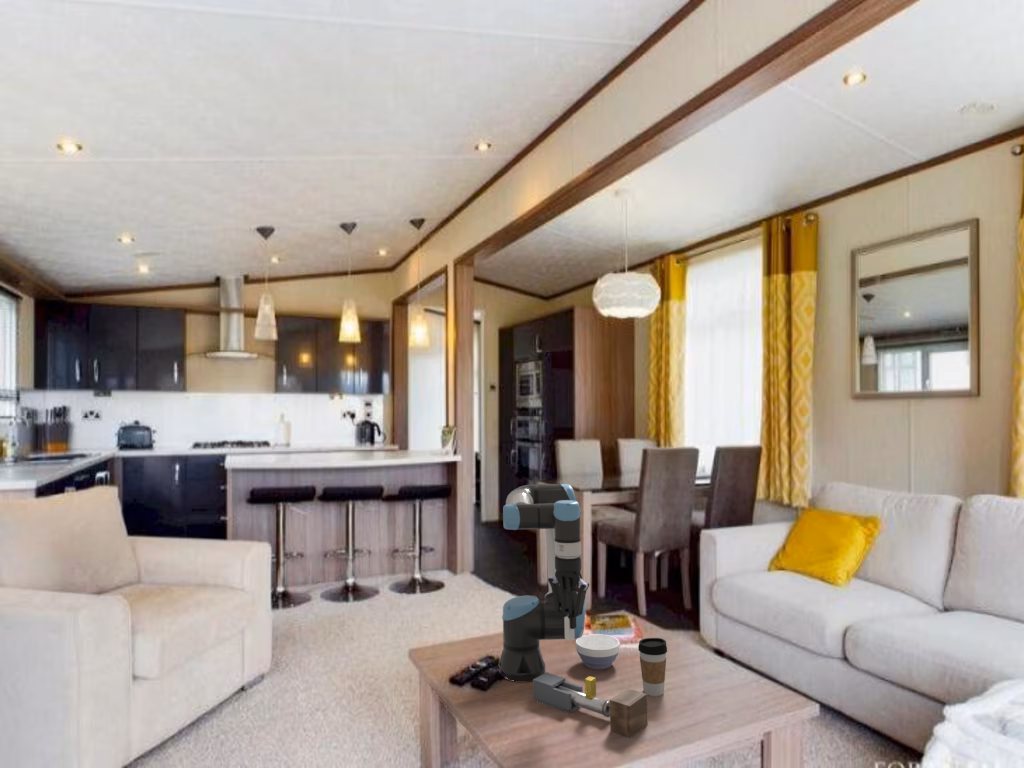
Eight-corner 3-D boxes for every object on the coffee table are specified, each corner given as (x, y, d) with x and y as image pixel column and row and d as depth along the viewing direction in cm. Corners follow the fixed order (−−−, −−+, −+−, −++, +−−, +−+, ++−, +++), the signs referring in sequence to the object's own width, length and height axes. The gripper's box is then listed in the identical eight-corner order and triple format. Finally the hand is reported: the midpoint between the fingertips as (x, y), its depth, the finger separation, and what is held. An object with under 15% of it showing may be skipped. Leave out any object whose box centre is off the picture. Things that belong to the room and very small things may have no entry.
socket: (610, 730, 173) (609, 699, 174) (627, 717, 180) (627, 687, 181) (630, 737, 170) (629, 706, 170) (647, 724, 176) (646, 693, 177)
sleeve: (533, 700, 192) (533, 679, 192) (547, 692, 197) (546, 672, 197) (569, 713, 183) (569, 691, 184) (582, 704, 188) (582, 683, 189)
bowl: (629, 664, 217) (628, 640, 217) (602, 677, 206) (601, 653, 206) (594, 652, 227) (593, 630, 227) (566, 665, 217) (566, 642, 217)
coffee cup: (668, 699, 191) (667, 647, 191) (639, 697, 192) (637, 645, 193) (667, 686, 199) (666, 636, 199) (639, 684, 201) (638, 635, 201)
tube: (540, 697, 192) (540, 666, 192) (549, 692, 195) (548, 662, 195) (605, 719, 177) (604, 686, 178) (613, 714, 180) (612, 681, 181)
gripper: (541, 555, 189) (543, 638, 189) (579, 561, 181) (581, 648, 180) (557, 550, 195) (558, 630, 194) (594, 556, 187) (596, 640, 186)
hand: (569, 639), depth 187 cm, fingers closed
